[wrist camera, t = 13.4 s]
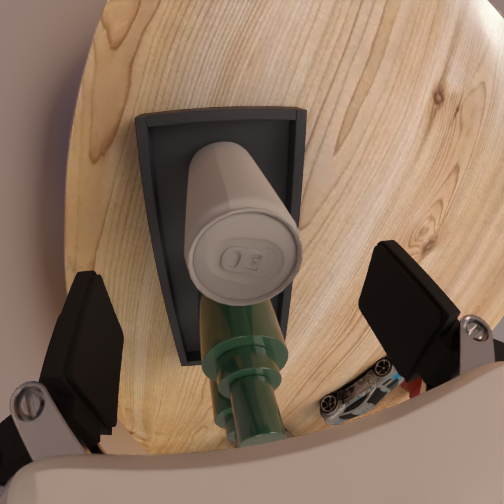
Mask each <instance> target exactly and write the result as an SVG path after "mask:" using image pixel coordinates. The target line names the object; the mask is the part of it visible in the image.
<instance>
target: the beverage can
mask: <svg viewBox="0 0 504 504" xmlns="http://www.w3.org/2000/svg"><path fill="white" fill-rule="evenodd" d="M184 257H185V261H186V265H187V269H188V270H189V274H190V278H191V280H192V281H193V283H194V284H195V286H196V287H197V289H198V290H199V291H201V292H202V293H203V294H204V295H205V296H206V297H208V298H210V299H212V300H214V301H216V302H218V303H222V304H227V305H231V306H246V305H252V304H257V303H260V302H263V301H265V300H268V299H271V298H272V297H274V296H275V295H277V294H279V293H280V292H282V291H283V290H284V289H285V288H286V287H287V286H288V285H289V284H290V283H291V282H292V281H293V279H294V277H295V276H296V274H297V273H298V271H299V268H300V265H301V261H302V243H301V240H300V235H299V232H298V228H297V225H296V223H295V221H294V220H293V218H292V217H291V215H290V214H289V212H288V210H287V209H286V207H285V206H284V204H283V203H282V201H281V200H280V198H279V197H278V195H277V194H276V192H275V191H274V189H273V188H272V186H271V185H270V183H269V182H268V180H267V179H266V178H265V176H264V175H263V173H262V172H261V170H260V169H259V167H258V166H257V164H256V163H255V162H254V160H253V159H252V157H251V156H250V154H249V153H248V152H247V151H246V150H245V149H244V148H243V147H241V146H240V145H238V144H236V143H233V142H225V141H221V142H216V143H212V144H209V145H207V146H204V147H203V148H201V149H200V150H199V151H197V153H196V154H195V155H194V157H193V158H192V160H191V163H190V165H189V175H188V187H187V202H186V220H185V243H184Z"/></svg>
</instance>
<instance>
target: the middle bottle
mask: <svg viewBox="0 0 504 504" xmlns="http://www.w3.org/2000/svg"><path fill="white" fill-rule="evenodd" d="M197 302H198V320H199V336H200V350H201V363H202V369H203V372H204V373H205V375H206V376H207V377H208V378H209V379H211V380H212V381H214V382H216V383H218V390H219V392H220V393H221V394H222V395H223V396H224V397H226V398H229V399H231V404H232V410H233V416H234V422H235V427H236V433H237V439H238V444H239V446H240V447H246V446H252V445H258V444H263V443H269V442H274V441H279V440H284V439H285V438H286V433H285V430H284V426H283V423H282V419H281V415H280V412H279V408H278V404H277V400H276V397H275V393H274V390H276V389H277V388H278V386H279V385H280V383H281V374H280V370H281V369H282V368H283V367H284V366H285V364H286V362H287V359H288V350H287V347H286V344H285V341H284V338H283V335H282V332H281V329H280V326H279V323H278V320H277V317H276V314H275V311H274V308H273V305H272V302H271V299H268V300H265V301H263V302H260V303H257V304H252V305H246V306H231V305H227V304H222V303H218V302H216V301H214V300H212V299H210V298H208V297H206V296H205V295H204V294H203V293H202V292H201V291H199V290H198V289H197Z"/></svg>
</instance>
